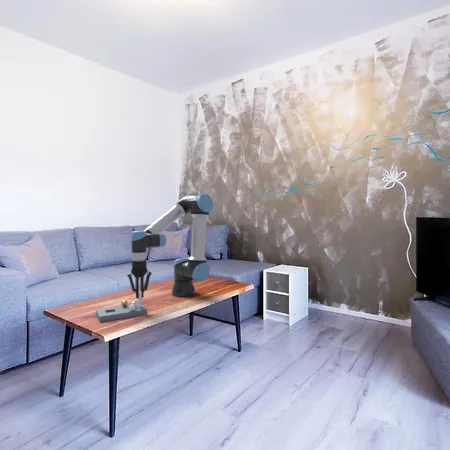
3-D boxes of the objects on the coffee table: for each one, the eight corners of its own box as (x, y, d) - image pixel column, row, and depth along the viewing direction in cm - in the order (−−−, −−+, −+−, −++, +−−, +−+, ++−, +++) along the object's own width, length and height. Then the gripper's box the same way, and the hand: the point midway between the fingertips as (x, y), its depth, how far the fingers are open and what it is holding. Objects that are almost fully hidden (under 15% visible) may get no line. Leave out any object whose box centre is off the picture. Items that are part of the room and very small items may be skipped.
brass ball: (127, 305, 173) (126, 299, 173) (128, 306, 170) (128, 300, 170) (120, 306, 171) (120, 300, 171) (122, 307, 168) (121, 301, 168)
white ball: (134, 309, 165) (134, 303, 165) (136, 310, 162) (136, 304, 162) (128, 310, 164) (128, 304, 164) (129, 311, 161) (129, 305, 161)
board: (140, 307, 177) (140, 302, 177) (147, 314, 165) (146, 309, 165) (96, 313, 166) (96, 309, 166) (99, 321, 154) (99, 316, 154)
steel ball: (136, 306, 171) (136, 300, 170) (137, 307, 168) (137, 301, 168) (130, 307, 169) (130, 301, 169) (131, 308, 166) (131, 302, 166)
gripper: (149, 258, 175) (149, 300, 176) (125, 260, 169) (125, 303, 170) (153, 260, 169) (153, 303, 170) (128, 261, 163) (128, 307, 163)
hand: (139, 303), depth 170 cm, fingers closed
